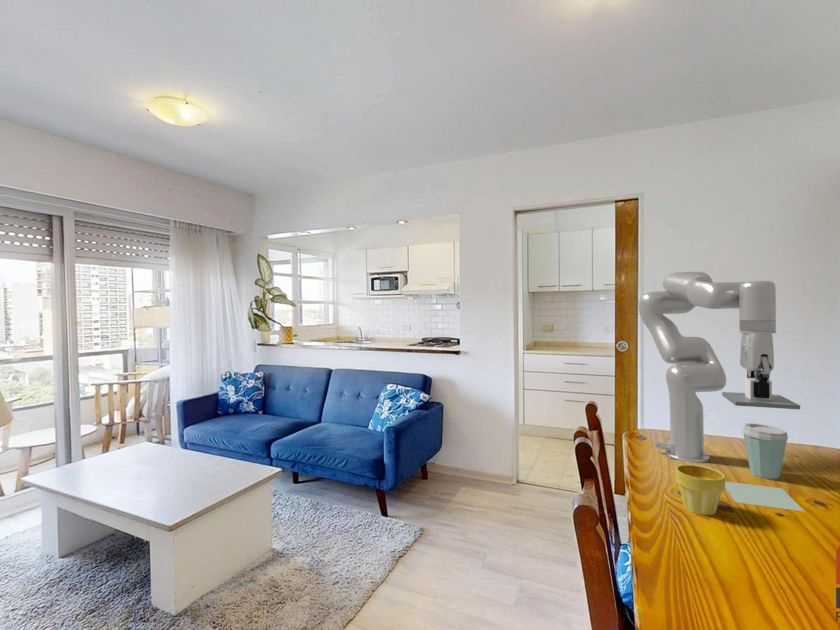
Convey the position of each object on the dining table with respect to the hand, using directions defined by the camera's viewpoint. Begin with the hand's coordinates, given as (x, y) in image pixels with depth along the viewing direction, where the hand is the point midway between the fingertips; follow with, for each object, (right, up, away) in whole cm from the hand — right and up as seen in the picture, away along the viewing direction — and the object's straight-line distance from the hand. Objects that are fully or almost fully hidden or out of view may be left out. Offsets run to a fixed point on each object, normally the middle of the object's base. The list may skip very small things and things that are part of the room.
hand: (757, 394), depth 110 cm
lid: (0, -2, 0) cm, 2 cm away
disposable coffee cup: (+12, -27, +12) cm, 32 cm away
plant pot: (-20, -28, -6) cm, 35 cm away
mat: (+1, -27, 0) cm, 27 cm away
